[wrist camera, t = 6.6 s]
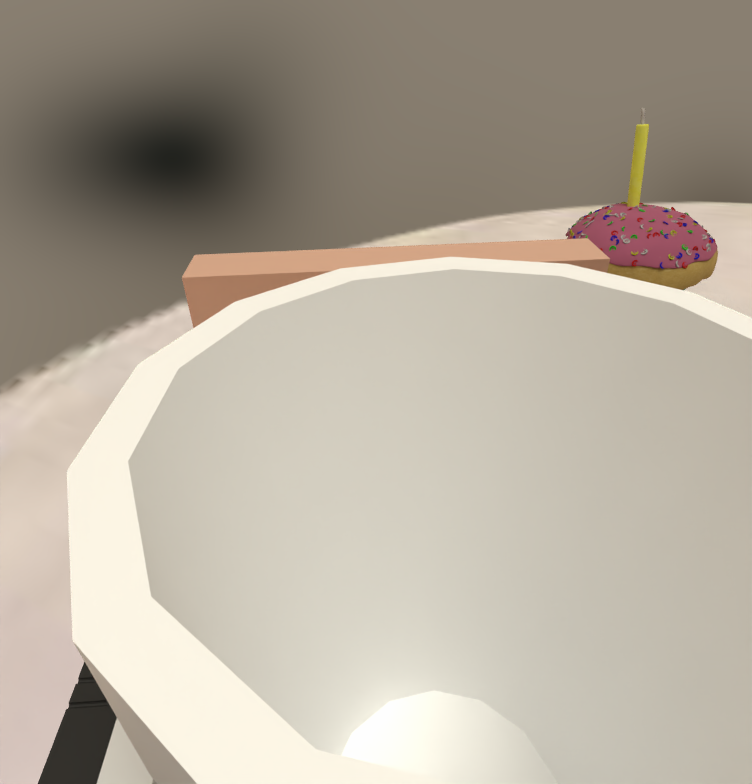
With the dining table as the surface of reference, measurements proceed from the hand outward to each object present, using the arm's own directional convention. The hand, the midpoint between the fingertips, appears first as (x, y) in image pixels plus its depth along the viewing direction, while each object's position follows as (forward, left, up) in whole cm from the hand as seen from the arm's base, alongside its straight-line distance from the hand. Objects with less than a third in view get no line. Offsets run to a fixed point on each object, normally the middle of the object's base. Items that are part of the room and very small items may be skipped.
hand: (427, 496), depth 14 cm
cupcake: (-26, -7, -7) cm, 28 cm away
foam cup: (+3, +3, -7) cm, 8 cm away
